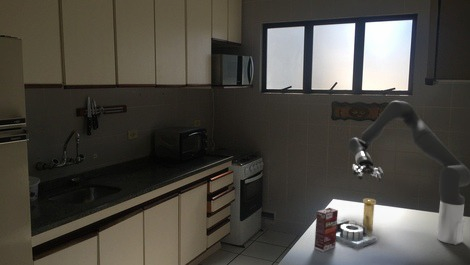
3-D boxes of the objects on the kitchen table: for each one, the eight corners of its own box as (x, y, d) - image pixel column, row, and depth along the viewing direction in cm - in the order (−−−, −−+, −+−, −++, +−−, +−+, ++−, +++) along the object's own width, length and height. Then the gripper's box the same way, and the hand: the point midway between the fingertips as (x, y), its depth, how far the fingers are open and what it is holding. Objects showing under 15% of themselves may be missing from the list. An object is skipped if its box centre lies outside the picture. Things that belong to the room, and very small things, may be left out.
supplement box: (323, 252, 162) (325, 214, 160) (313, 248, 165) (315, 211, 163) (336, 247, 167) (338, 210, 165) (326, 243, 171) (328, 207, 169)
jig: (376, 241, 174) (376, 230, 173) (357, 248, 166) (358, 237, 166) (345, 230, 187) (346, 219, 186) (327, 236, 179) (327, 225, 178)
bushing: (376, 229, 188) (378, 200, 186) (369, 232, 185) (371, 202, 183) (366, 226, 192) (367, 197, 190) (358, 228, 189) (360, 199, 187)
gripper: (351, 153, 206) (356, 171, 192) (379, 156, 205) (387, 174, 191) (348, 166, 210) (353, 184, 195) (376, 169, 209) (383, 187, 195)
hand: (370, 179), depth 193 cm, fingers open, 8 cm apart
